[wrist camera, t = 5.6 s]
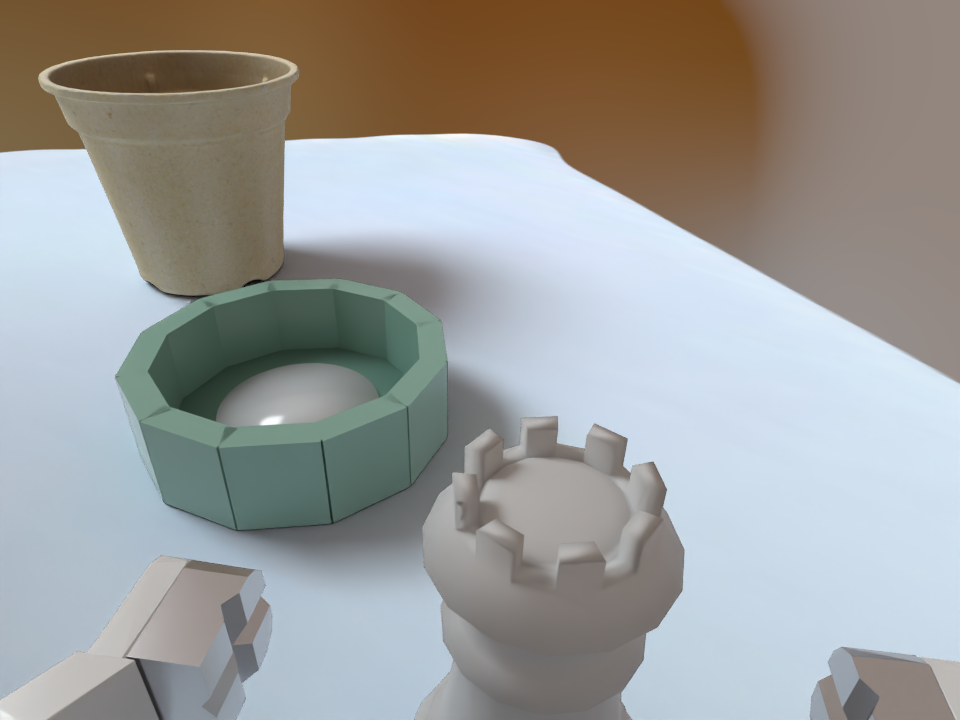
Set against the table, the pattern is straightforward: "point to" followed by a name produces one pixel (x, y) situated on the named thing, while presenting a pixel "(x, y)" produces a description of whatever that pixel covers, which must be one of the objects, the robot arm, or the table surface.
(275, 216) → the flower pot
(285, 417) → the bowl
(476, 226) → the table surface
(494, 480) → the rook chess piece
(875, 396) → the table surface
